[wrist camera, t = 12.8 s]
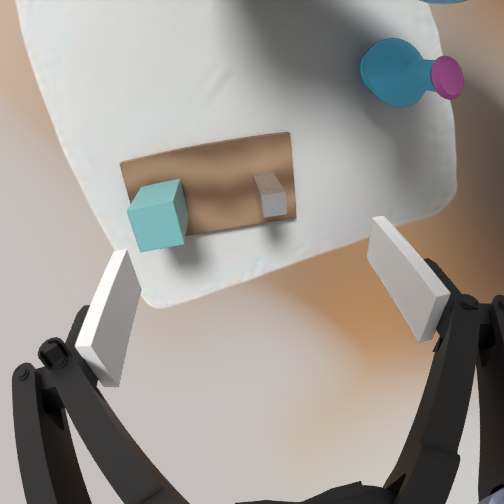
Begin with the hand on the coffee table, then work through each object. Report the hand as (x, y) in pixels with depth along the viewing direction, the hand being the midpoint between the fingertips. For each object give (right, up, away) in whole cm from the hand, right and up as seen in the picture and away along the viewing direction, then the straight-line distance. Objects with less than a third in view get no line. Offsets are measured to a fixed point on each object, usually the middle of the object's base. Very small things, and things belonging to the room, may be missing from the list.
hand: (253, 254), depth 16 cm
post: (+2, +9, +24) cm, 26 cm away
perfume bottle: (+17, +25, +18) cm, 35 cm away
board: (-6, +9, +25) cm, 27 cm away
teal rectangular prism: (-11, +7, +23) cm, 26 cm away
